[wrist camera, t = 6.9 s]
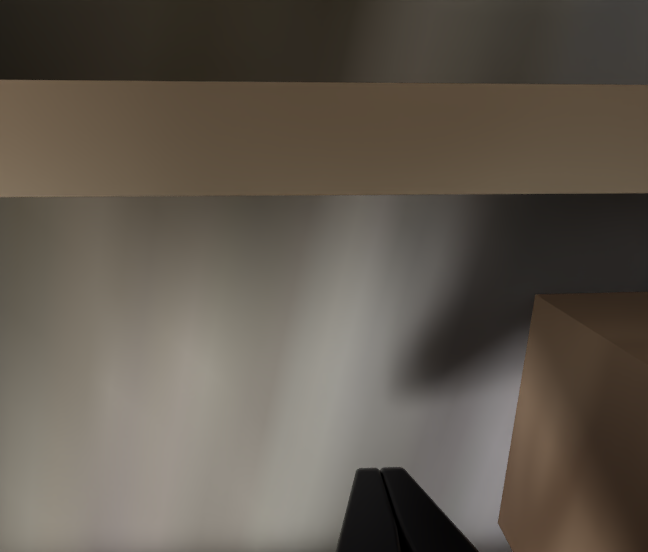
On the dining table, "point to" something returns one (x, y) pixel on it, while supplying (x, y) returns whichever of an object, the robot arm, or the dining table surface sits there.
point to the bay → (319, 138)
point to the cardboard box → (581, 428)
